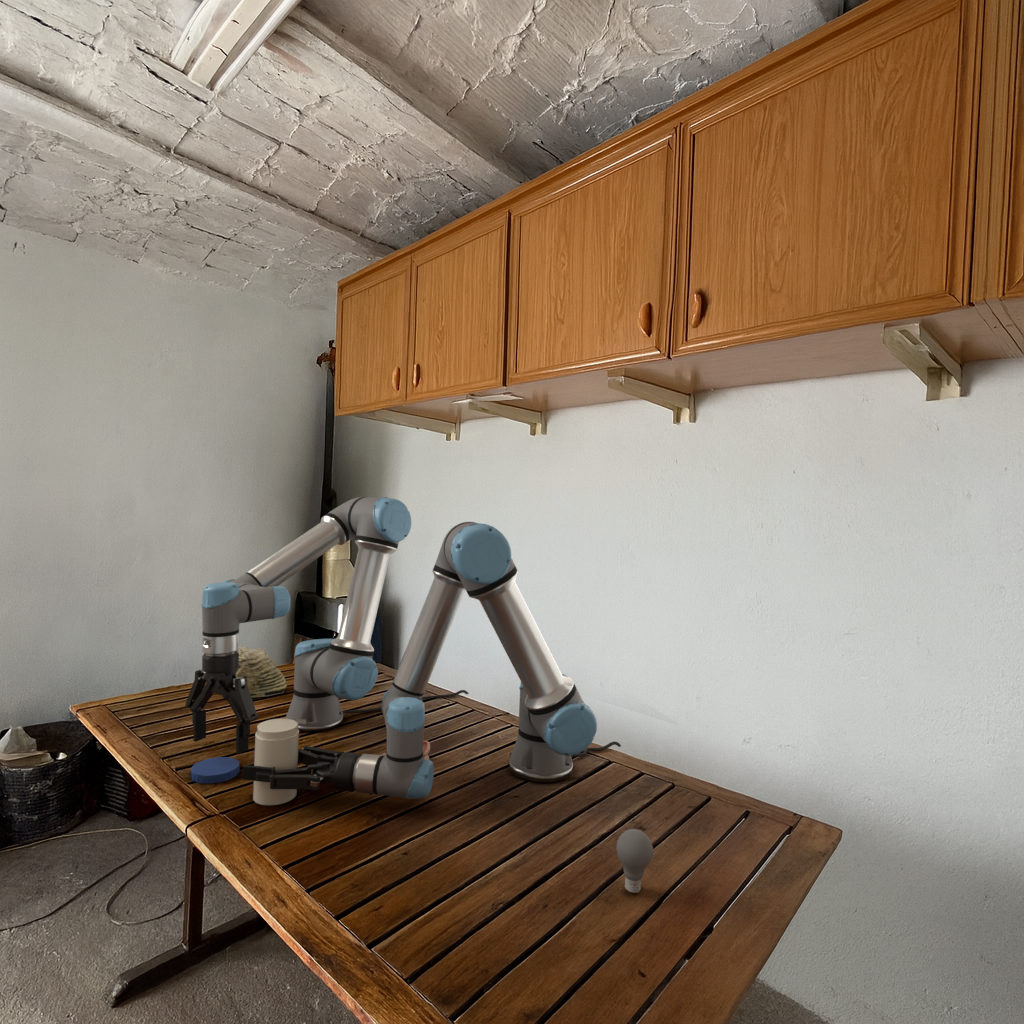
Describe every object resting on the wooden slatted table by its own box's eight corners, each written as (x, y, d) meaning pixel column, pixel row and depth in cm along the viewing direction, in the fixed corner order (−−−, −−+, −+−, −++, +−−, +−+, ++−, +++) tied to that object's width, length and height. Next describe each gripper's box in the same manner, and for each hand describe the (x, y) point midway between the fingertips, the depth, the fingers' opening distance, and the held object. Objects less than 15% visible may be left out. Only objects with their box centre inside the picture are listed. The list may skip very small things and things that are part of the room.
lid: (186, 770, 143) (187, 762, 143) (233, 761, 149) (234, 753, 149) (195, 787, 135) (195, 779, 135) (244, 777, 141) (244, 769, 141)
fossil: (218, 695, 195) (220, 647, 195) (278, 685, 208) (279, 640, 207) (228, 703, 189) (230, 653, 188) (289, 692, 201) (290, 645, 201)
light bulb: (610, 879, 108) (613, 822, 108) (644, 879, 109) (647, 822, 109) (619, 902, 102) (622, 840, 102) (655, 901, 103) (658, 840, 103)
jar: (302, 786, 138) (304, 718, 138) (288, 806, 129) (291, 733, 129) (262, 785, 138) (264, 717, 137) (246, 804, 129) (248, 731, 129)
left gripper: (168, 648, 144) (168, 740, 145) (247, 664, 133) (247, 763, 134) (197, 641, 151) (197, 729, 152) (275, 655, 140) (274, 750, 141)
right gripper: (337, 816, 121) (226, 804, 123) (374, 769, 142) (279, 760, 145) (339, 777, 121) (227, 766, 123) (376, 736, 142) (280, 727, 144)
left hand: (220, 745), depth 143 cm, fingers open, 13 cm apart
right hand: (255, 762), depth 134 cm, fingers closed on jar, 9 cm apart
